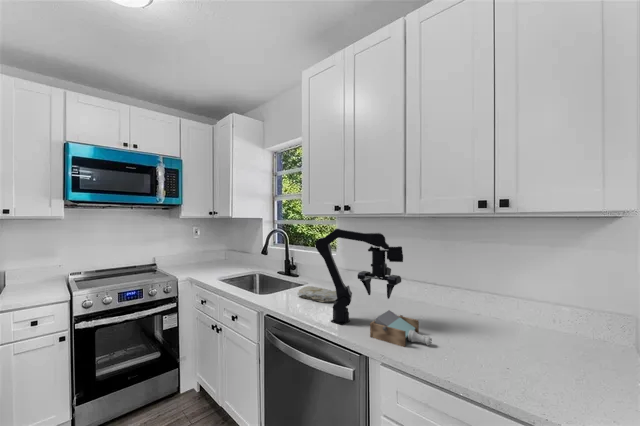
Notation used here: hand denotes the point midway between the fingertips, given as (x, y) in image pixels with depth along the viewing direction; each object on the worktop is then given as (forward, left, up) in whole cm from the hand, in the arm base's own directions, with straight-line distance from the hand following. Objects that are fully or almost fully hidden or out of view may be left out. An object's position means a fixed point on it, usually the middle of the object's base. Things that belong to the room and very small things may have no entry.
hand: (378, 296), depth 128 cm
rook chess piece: (+17, -8, -10) cm, 21 cm away
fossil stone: (-44, +15, -12) cm, 48 cm away
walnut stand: (+10, -7, -12) cm, 17 cm away
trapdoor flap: (+10, -7, -9) cm, 15 cm away
